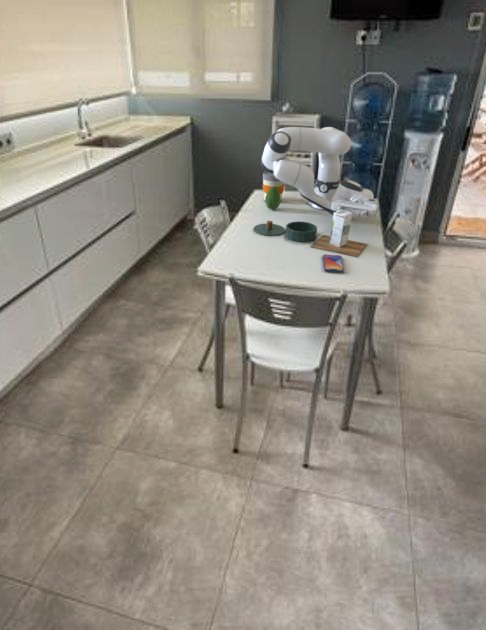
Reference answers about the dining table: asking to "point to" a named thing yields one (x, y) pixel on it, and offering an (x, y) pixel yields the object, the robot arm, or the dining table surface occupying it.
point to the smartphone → (333, 263)
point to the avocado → (272, 198)
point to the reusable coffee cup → (272, 183)
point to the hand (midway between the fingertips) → (349, 213)
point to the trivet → (348, 249)
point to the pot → (301, 232)
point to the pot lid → (269, 229)
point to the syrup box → (340, 228)
